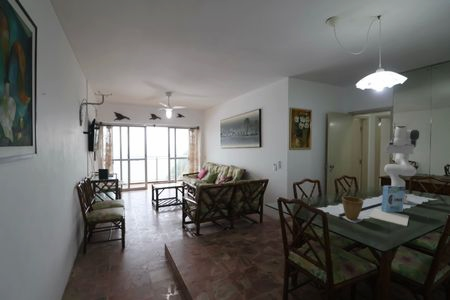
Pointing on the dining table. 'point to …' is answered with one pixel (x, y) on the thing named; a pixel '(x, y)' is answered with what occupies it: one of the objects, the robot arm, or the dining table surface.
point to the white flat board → (390, 217)
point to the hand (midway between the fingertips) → (398, 158)
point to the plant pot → (352, 207)
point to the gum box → (392, 198)
